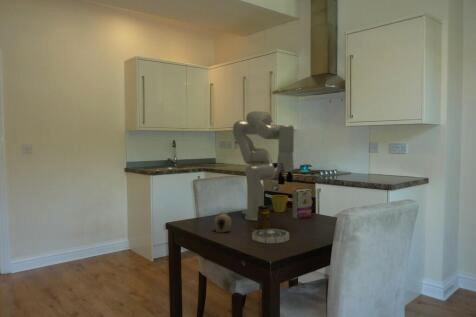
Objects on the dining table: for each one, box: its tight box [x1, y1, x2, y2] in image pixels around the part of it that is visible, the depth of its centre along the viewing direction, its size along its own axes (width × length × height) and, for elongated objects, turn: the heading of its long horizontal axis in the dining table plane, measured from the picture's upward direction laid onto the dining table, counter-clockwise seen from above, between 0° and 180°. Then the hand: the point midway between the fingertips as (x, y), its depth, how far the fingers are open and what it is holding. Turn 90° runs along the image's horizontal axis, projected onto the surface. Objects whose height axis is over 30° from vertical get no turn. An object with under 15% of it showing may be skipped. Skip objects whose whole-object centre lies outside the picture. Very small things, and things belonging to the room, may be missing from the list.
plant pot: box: [270, 194, 289, 213], centre depth 240 cm, size 10×10×10 cm
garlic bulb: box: [213, 212, 233, 233], centre depth 188 cm, size 9×8×10 cm
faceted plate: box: [251, 228, 290, 244], centre depth 175 cm, size 17×17×2 cm
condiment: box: [251, 205, 270, 231], centre depth 192 cm, size 7×8×12 cm
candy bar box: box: [292, 188, 313, 220], centre depth 221 cm, size 11×5×16 cm, turn 120°
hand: (285, 183), depth 191 cm, fingers open, 9 cm apart
